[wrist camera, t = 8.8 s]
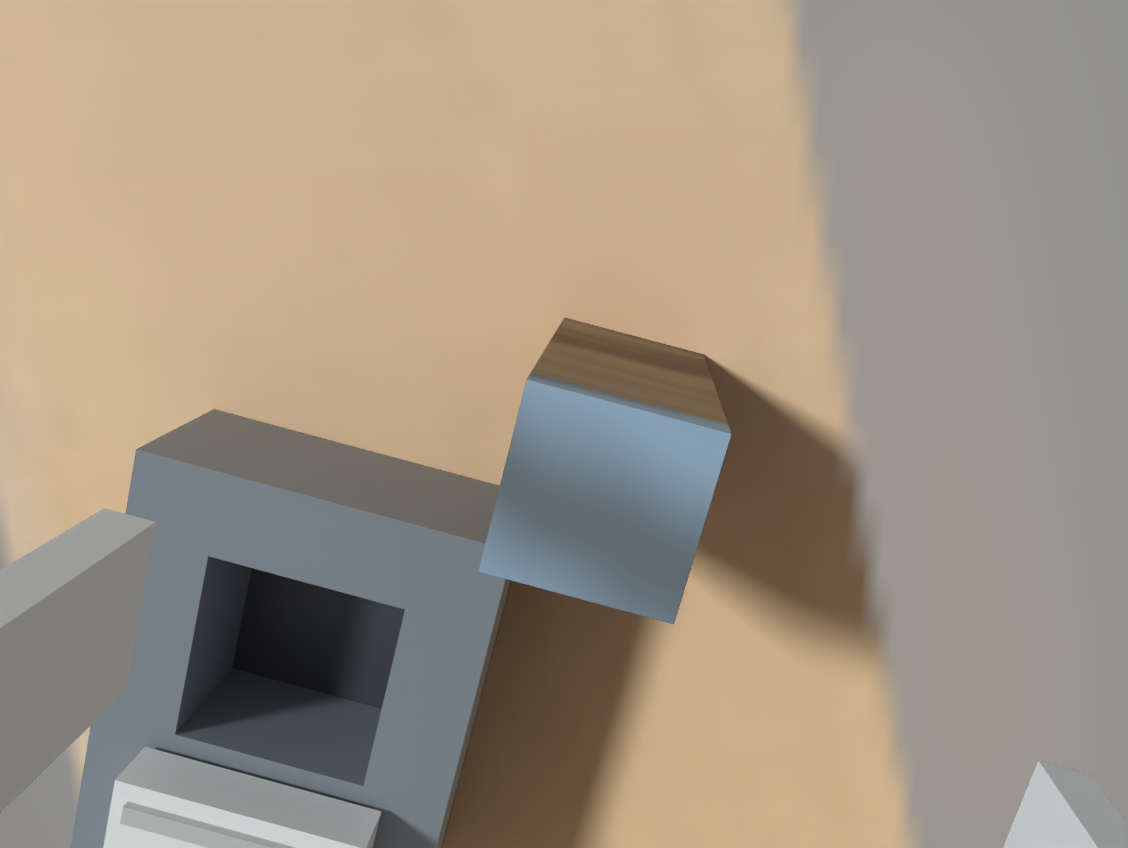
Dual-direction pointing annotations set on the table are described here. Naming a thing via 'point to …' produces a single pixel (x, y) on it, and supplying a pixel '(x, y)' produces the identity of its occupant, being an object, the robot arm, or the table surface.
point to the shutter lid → (225, 810)
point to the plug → (609, 471)
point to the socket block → (305, 623)
